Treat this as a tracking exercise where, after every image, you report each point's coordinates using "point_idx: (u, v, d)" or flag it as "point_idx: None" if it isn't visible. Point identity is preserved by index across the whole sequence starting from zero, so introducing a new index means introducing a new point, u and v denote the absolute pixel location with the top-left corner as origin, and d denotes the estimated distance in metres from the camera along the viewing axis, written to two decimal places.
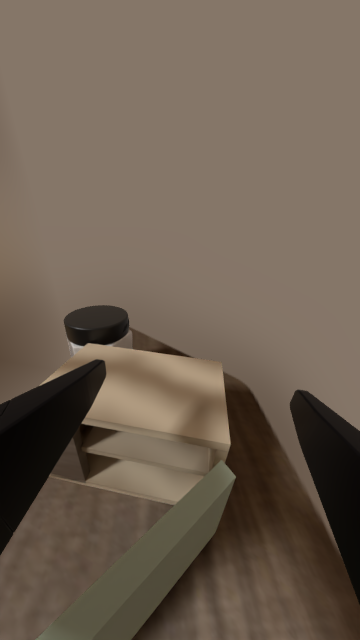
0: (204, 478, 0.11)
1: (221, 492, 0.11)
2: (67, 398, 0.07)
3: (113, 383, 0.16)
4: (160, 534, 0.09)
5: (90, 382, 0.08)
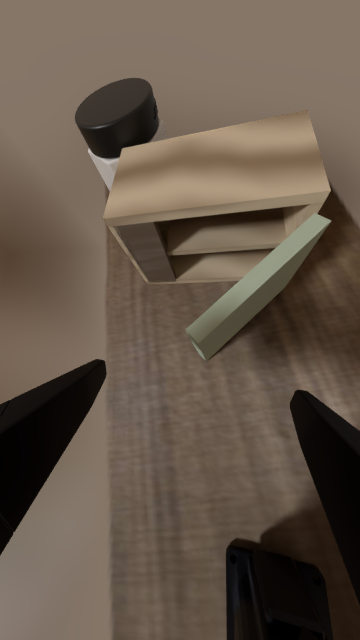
0: (298, 228, 0.12)
1: (317, 233, 0.12)
2: (67, 398, 0.07)
3: (178, 177, 0.14)
4: (267, 265, 0.12)
5: (90, 382, 0.08)
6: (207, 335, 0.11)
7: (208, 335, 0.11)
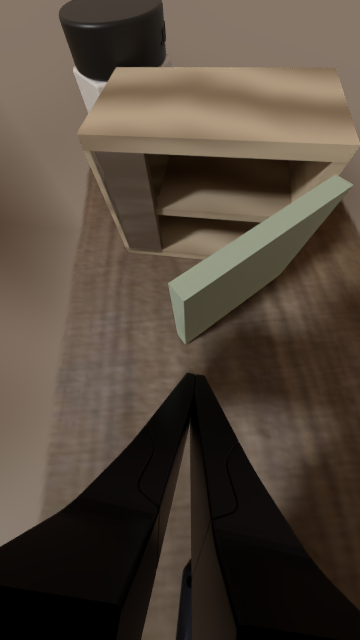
0: (316, 187, 0.10)
1: (337, 195, 0.10)
2: (187, 419, 0.06)
3: (181, 105, 0.12)
4: (279, 220, 0.09)
5: (192, 399, 0.07)
6: (197, 292, 0.08)
7: (197, 294, 0.08)
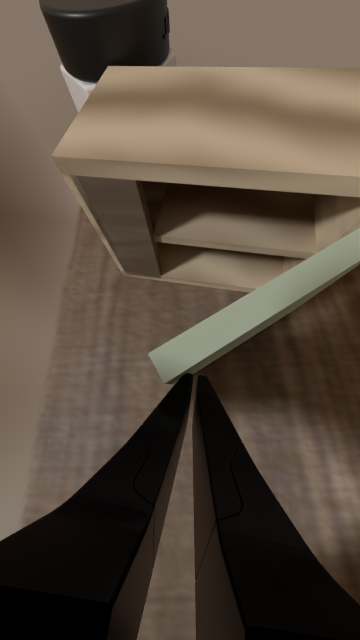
0: (356, 231, 0.08)
1: None
2: (184, 419, 0.06)
3: (185, 118, 0.09)
4: (302, 275, 0.07)
5: None
6: (183, 372, 0.06)
7: (184, 371, 0.06)
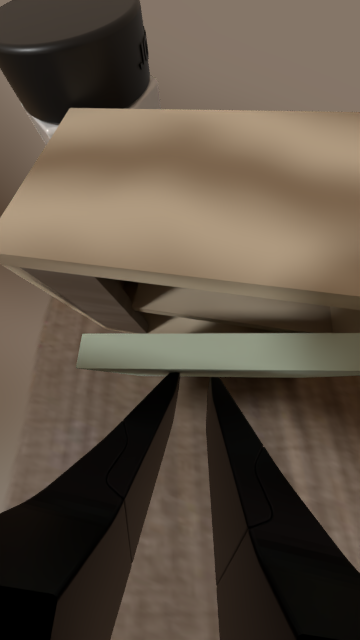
0: None
1: None
2: (167, 416, 0.06)
3: (160, 192, 0.07)
4: (279, 347, 0.06)
5: (175, 396, 0.07)
6: (98, 368, 0.06)
7: (102, 368, 0.06)
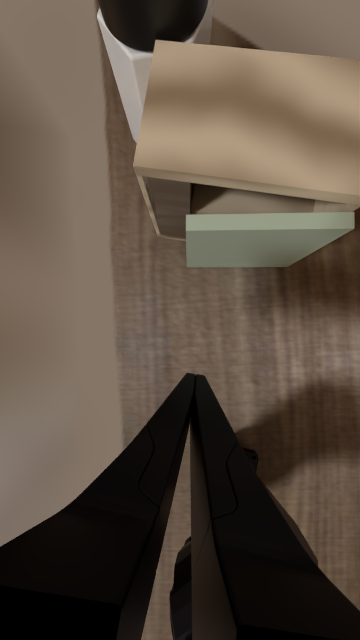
0: (329, 213, 0.13)
1: (334, 228, 0.13)
2: (187, 419, 0.06)
3: (227, 126, 0.12)
4: (279, 219, 0.13)
5: (192, 399, 0.07)
6: (196, 230, 0.13)
7: (196, 232, 0.14)
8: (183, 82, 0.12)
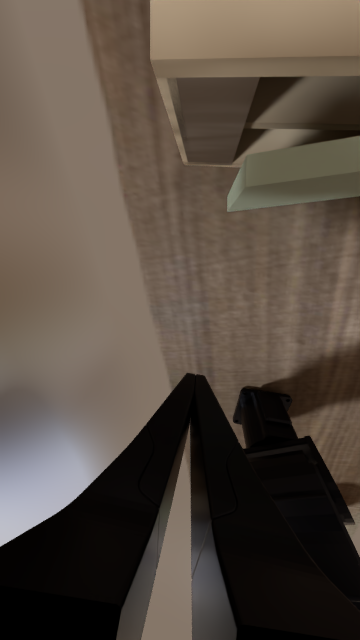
0: None
1: None
2: (187, 419, 0.06)
3: None
4: None
5: (192, 399, 0.07)
6: (262, 185, 0.08)
7: (262, 186, 0.09)
8: None
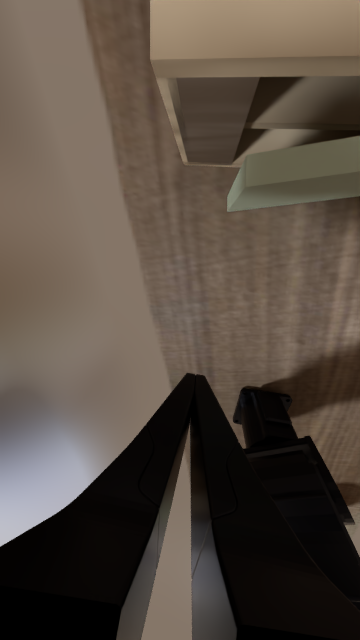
0: None
1: None
2: (187, 419, 0.06)
3: None
4: None
5: (192, 399, 0.07)
6: (262, 185, 0.08)
7: (262, 186, 0.09)
8: None
